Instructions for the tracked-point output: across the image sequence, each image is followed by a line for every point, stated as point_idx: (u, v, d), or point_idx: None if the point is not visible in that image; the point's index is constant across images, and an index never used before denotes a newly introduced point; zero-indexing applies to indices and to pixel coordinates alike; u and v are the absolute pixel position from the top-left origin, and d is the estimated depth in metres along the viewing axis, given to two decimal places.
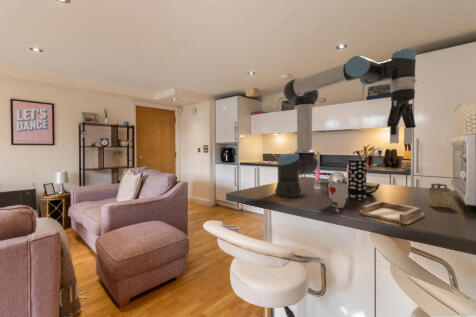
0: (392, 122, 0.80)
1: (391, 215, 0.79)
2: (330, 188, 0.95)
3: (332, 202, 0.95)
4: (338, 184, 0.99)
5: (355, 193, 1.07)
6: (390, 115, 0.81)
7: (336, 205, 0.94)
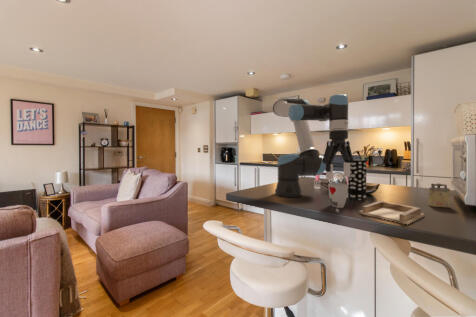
0: (325, 161, 0.89)
1: (391, 215, 0.79)
2: (330, 188, 0.95)
3: (332, 202, 0.95)
4: (338, 184, 0.99)
5: (355, 193, 1.07)
6: (325, 154, 0.91)
7: (336, 205, 0.94)
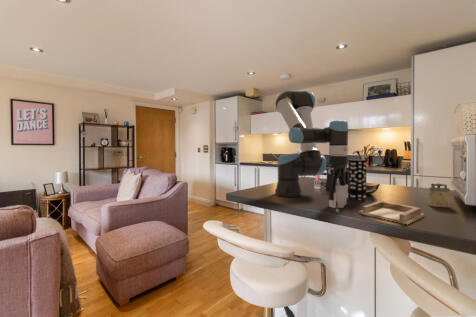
0: (329, 190, 0.91)
1: (391, 215, 0.79)
2: None
3: None
4: (338, 184, 0.99)
5: (355, 193, 1.07)
6: (327, 183, 0.92)
7: (336, 205, 0.94)
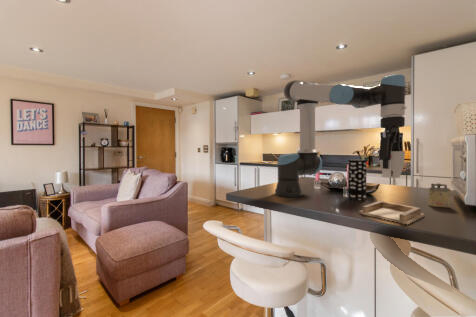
0: (384, 156, 0.78)
1: (391, 215, 0.79)
2: None
3: None
4: None
5: (355, 193, 1.07)
6: (381, 148, 0.79)
7: (391, 175, 0.80)
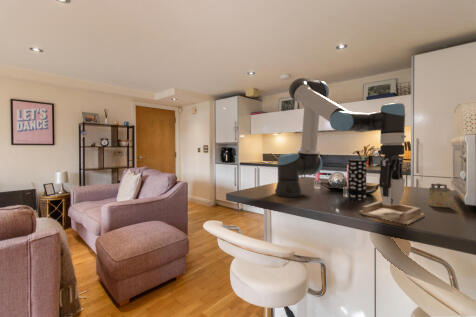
0: (384, 185, 0.78)
1: (391, 215, 0.79)
2: None
3: None
4: None
5: (355, 193, 1.07)
6: (381, 176, 0.79)
7: (391, 202, 0.80)
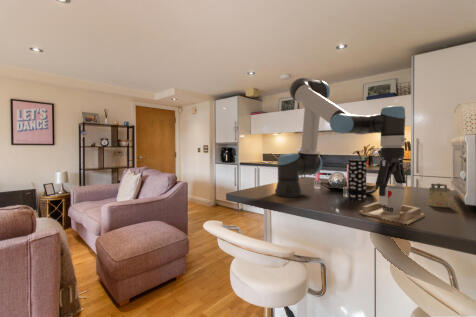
0: (380, 184, 0.77)
1: (391, 215, 0.79)
2: None
3: (386, 208, 0.82)
4: (389, 186, 0.86)
5: (355, 193, 1.07)
6: (379, 176, 0.78)
7: (391, 211, 0.81)
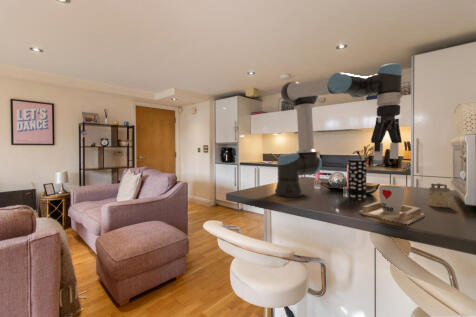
0: (376, 139, 0.79)
1: (391, 215, 0.79)
2: (383, 191, 0.82)
3: (386, 207, 0.82)
4: (389, 186, 0.86)
5: (355, 193, 1.07)
6: (374, 131, 0.80)
7: (391, 211, 0.81)
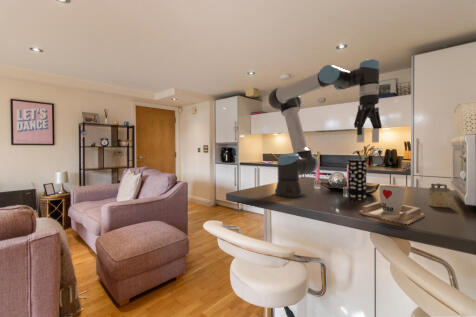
0: (358, 124, 0.91)
1: (391, 215, 0.79)
2: (384, 191, 0.82)
3: (386, 207, 0.82)
4: (389, 186, 0.86)
5: (355, 193, 1.07)
6: (356, 117, 0.93)
7: (391, 211, 0.81)
